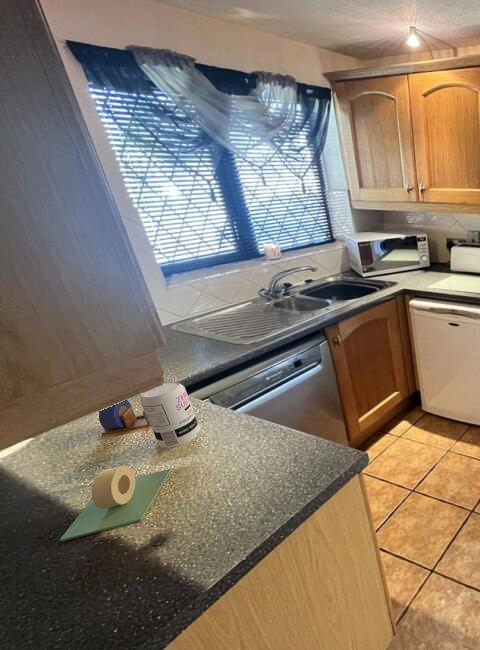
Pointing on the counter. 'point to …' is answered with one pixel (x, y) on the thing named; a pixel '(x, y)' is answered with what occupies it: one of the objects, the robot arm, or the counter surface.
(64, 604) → the counter surface
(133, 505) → the mat
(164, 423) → the supplement can
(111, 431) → the tape rack
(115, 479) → the masking tape
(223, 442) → the counter surface
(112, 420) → the vinyl tape
